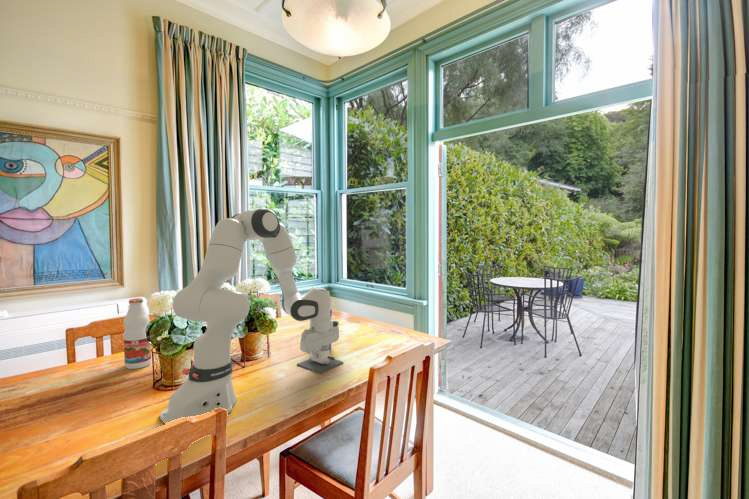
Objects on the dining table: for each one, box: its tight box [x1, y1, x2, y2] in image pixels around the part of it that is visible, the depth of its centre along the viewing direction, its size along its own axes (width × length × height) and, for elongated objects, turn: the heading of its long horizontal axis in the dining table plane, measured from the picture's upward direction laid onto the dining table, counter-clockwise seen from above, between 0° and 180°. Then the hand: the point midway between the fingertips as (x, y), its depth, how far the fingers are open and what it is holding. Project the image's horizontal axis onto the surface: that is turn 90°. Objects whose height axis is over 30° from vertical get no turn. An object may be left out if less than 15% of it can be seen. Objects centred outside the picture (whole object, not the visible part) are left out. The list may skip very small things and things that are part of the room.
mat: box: [296, 357, 344, 375], centre depth 155 cm, size 14×14×1 cm
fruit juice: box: [123, 297, 152, 370], centre depth 150 cm, size 9×9×28 cm
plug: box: [306, 347, 336, 364], centre depth 154 cm, size 15×4×5 cm, turn 54°
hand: (320, 356), depth 155 cm, fingers closed on plug, 4 cm apart
